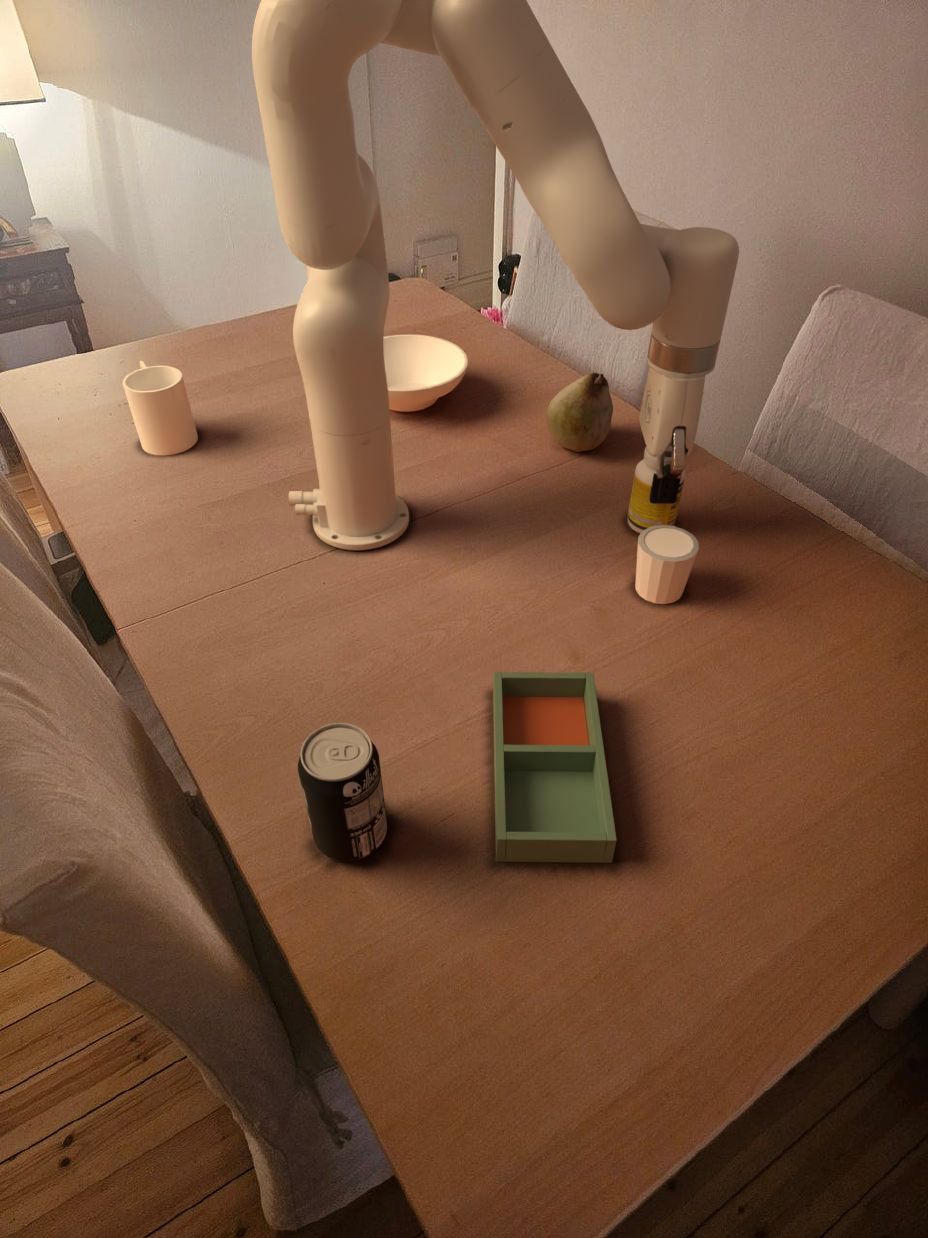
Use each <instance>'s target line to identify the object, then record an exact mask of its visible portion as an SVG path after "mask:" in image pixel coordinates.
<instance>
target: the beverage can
mask: <svg viewBox="0 0 928 1238" xmlns="http://www.w3.org/2000/svg"><path fill="white" fill-rule="evenodd" d="M297 773H298V777H299V781H300V786H301V791H302V794H303V795H302V796H303V799H304V803H305V807H306V811H307V816H308V820H309V826H310V829H311V833H312V837H313V841H314V844H315V845H316V847H317V849H318V850H319V852H320V853H322V854H323V855H324V856H326V857H328V858H330V859H332V860H334V861H338V862H344V863H345V862H355V861H359V860H363V859H365V858H367V857H369V856H371V855H372V854H373V853H375V852H376V851H377V850H378V849H379V848H380V846H381V845H382V844H383V842H384V840H385V838H386V835H387V831H388V820H387V812H386V804H385V796H384V785H383V779H382V771H381V761H380V755H379V751H378V748H377V747H376V745H375V743H374V742H373V741H372V739H371V737H370V736H369V734H368V733H367V732H366V731H365V730H364V729H363V728H361V727H359V726H358V725H355V724H352V723H347V722H334V723H329V724H326V725H323V726H321V727H319V728H317V729H315V730H314V731H312V732H311V733H310V734H309V735H308V736H307V737H306V739H305V740H304V742H303V743H302V745H301V748H300V755H299V758H298V762H297Z"/></svg>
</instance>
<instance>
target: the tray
mask: <svg viewBox="0 0 928 1238" xmlns="http://www.w3.org/2000/svg"><path fill="white" fill-rule="evenodd" d="M594 674H595V673H594V672H539V671H538V672H535V671H534V672H531V671H530V672H526V671H525V672H524V671H523V672H521V671H518V672H517V671H516V672H515V671H493V682H492V683H493V684H492V685H493V687H492V689H493V690H492V710H493V712H492V713H493V717H492V718H493V762H494V763H493V771H494V774H493V775H494V827H495V828H494V829H495V830H494V832H495V862H496V863H501V862H502V863H574V864H575V863H579V864H581V863H582V864H584V863H586V864H587V863H589V864H612V863H613V859H614V854H615V850H616V846H617V842H618V839H617V838H618V837H617V830H616V824H615V817H614V810H613V803H612V802H613V801H612V796H611V788H610V783H609V775H608V768H607V760H606V753H605V746H604V739H603V733H602V731H603V730H602V726H601V719H600V718H601V717H600V711H599V703H598V696H597V688H596V682H595V675H594Z"/></svg>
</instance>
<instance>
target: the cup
mask: <svg viewBox="0 0 928 1238" xmlns="http://www.w3.org/2000/svg"><path fill="white" fill-rule="evenodd" d="M139 366H140V368H139V369H136V370H134V371H131V372H130V373H128V374H126V376H125V377H124V378H123V379H122V382H121V383H122V387H123V391H124V393H125V398H126V399H127V403H128V406H129V409H130V413H131V415H132V420H133V422H134V425H135V428H136V432H137V435H138V439H139V441H140V446H141V448H142V449H143V451H144V452H146V453H148V454H149V455H153V456H171V455H172V456H173V455H177V454H180V453H184V452H185V451H187V450H190V449H191V448H193V446H195V445H196V443H197V442H198V440H199V436H198V432H197V428H196V424H195V420H194V416H193V411H192V407H191V403H190V400H189V396H188V392H187V389H186V384H185V381H184V380H185V379H184V377H183V374H182V371H181V370H180V369H178V368H176V367H173V366H170V365H151V366H147V365H146V364H145V362H144V360H140V361H139Z"/></svg>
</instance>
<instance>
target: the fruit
mask: <svg viewBox="0 0 928 1238" xmlns="http://www.w3.org/2000/svg"><path fill="white" fill-rule="evenodd" d="M613 414H614V405H613V399H612V397H611V393H610V386H609V381H608V380H607V379H606V377H605V376H604V373H598V372H590V373H587V374H585V375H583V376H582V377H580V378H578V379H576V380H574V381H573V382H571V383H569V384H568V385H566V386H564V388H562V389H561V390H559V392H558V393H557V394H555V396H554V397H553V398H552V399H551V400H550V402H549V403H548V406H547V409H546V424H547V429H548V432H549V433H550V435H551V437H552V439H553V440H554V442H555V443H556V444H557V445H558V446H559V447H563V448H564V449H567V450H570V451H573V452H577V453H579V452H585V451H591V450H594V449H595V448H597V447H598V446H600V445H601V444H602V443H603V442H604V441H605V439H606V438H607V436H608V435H609V432H610V429H611V424H612V423H611V422H612V418H613Z"/></svg>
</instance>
